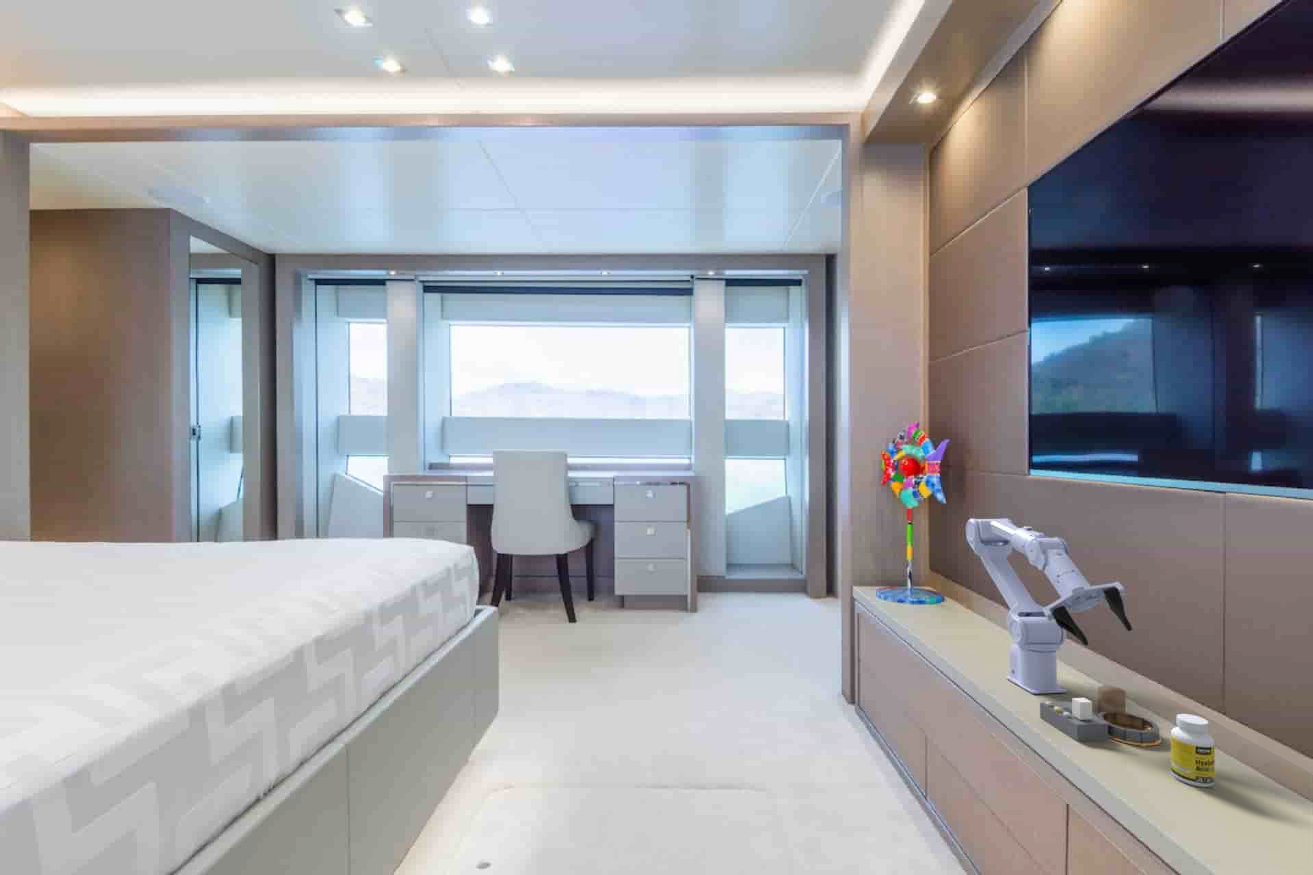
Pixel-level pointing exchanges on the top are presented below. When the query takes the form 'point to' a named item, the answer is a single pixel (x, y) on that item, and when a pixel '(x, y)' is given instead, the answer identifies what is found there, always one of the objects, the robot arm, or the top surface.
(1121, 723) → the ring
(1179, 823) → the top surface
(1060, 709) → the switch box
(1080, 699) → the handle
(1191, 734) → the supplement bottle
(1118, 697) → the brown tapered cylinder
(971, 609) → the top surface
